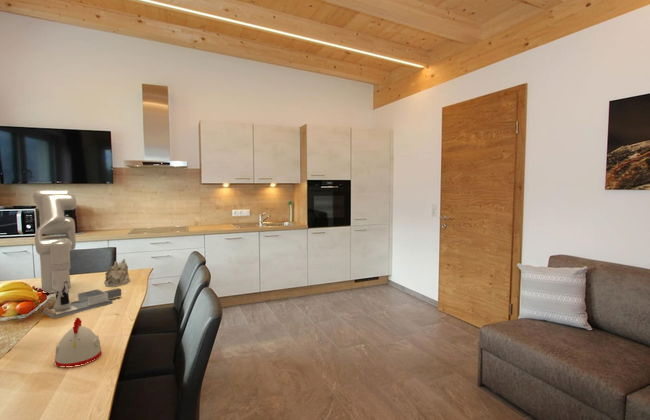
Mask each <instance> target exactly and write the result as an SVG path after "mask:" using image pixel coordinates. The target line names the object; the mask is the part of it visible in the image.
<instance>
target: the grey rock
mask: <svg viewBox="0 0 650 420" xmlns="http://www.w3.org/2000/svg"><path fill="white" fill-rule="evenodd" d="M128 271H129V266H128V264H127V262H126V259H125V258H123V259H122V260H121V262H119V263H118V261H114V263H113V266H110V267H109V269H108V270H107V271H106V273H105V274H104V275H105V276H104V278H105V279H104V282H103V284H104V286H105V287H106V288H119V287H121V286H125V285H128V283H130V282H131V279H130V277H129V276H130V275H129V272H128Z"/></svg>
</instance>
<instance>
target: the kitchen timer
mask: <svg viewBox="0 0 650 420" xmlns="http://www.w3.org/2000/svg"><path fill="white" fill-rule="evenodd" d="M54 353H55V356H54V364H55V363H56V365H58V366H65V367H66V366H75V365H81V364H85V363H87V362H90V361H92V360H94V359H96V358H97V359H99V358H100V357H101V355H102V346H101V340H100V336H99V334H97V335H96V334H95V333H94V331H93V330H92V329H90V328H88V327H86V326H83V325H82V320H81V318H80V317H76V318H75V320H74V322H73V326H72V328H70V329H69V330H68V331H67V332H66V333H65V334H64V335H63V336H62V338H61V340H59V342H58V343H57V344H56V346H55V352H54ZM99 356H100V357H99ZM98 357H99V358H98ZM97 359H96V360H97ZM94 361H95V360H94ZM92 362H93V361H92ZM90 363H91V362H90ZM56 365H55V366H56ZM85 365H86V364H85ZM58 366H57V367H58Z"/></svg>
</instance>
